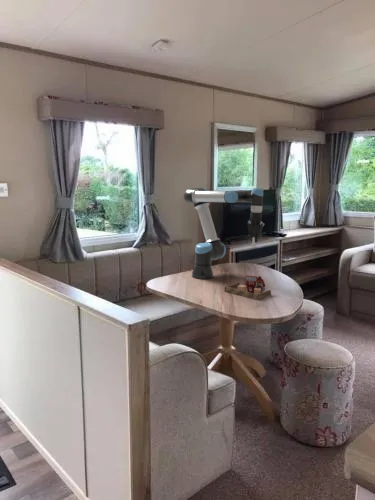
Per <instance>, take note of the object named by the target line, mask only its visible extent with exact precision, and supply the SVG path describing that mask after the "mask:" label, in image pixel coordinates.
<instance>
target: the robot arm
mask: <svg viewBox="0 0 375 500" xmlns="http://www.w3.org/2000/svg"><path fill="white" fill-rule="evenodd" d="M183 200H184V202H185V203H186V204H188V205H193V208H194V209H195V210H196V211H197V214H198V218H199V222H200V224H201V228H202V231H203V235H204V239H205V242H200V243H197V244H196V245H195V250H194V251H195V252H194V253H195V254H194V267H193V269H192V272H191V277H192V278H193V279H194V278H195V279H200V280H209V279H212V278H214V272H213V268H212V261H216V260H220V259H223V257H225V255H226V253H227V247H226V245H225V244H224V243H223V242H222V241H221V239H220V237H218V235H217V232H216V228H215V224H214V221H213V218H212V214H211V211H210V208H209V206H210V203H229V204H233V203H251V204H250V217H249V220H248V221H246V224H247V229H248V230H247V231H248V236H249V237H251V241H250V242H251V243H252V244H251V248H257V243H258V240H259V239H258V238H260V237H261V235H262V233H263V229H264V227H265V225H266V224H265V223H264V222H263V221H262V217H263V213H262V212H263V204H264V203H263V201H264V189H263V188H255V187H254V188H252V189H251V190H240V189H239V190H208V189H207V188H203V187H190V188H187V189H186V190H185V191H184V193H183Z"/></svg>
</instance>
